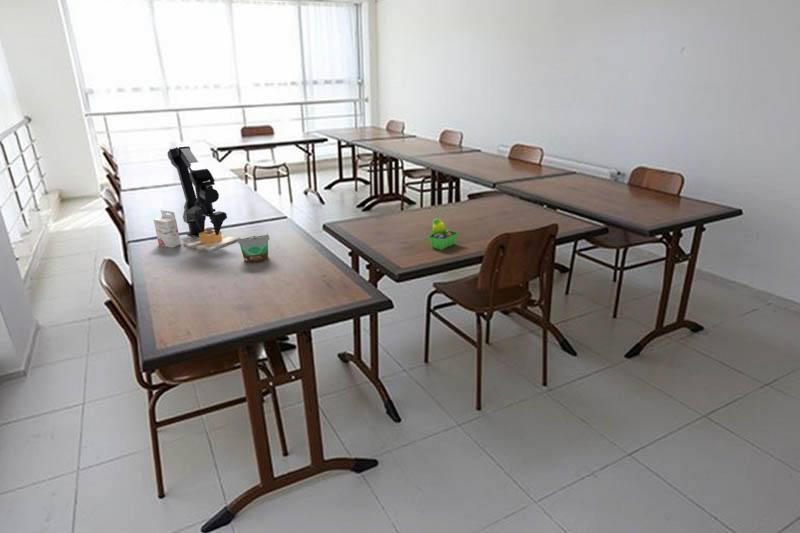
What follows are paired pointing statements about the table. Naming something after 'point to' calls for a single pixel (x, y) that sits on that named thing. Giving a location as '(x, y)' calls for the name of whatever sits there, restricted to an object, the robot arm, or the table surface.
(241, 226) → the table surface
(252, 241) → the food container
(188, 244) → the post board
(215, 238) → the orange square ring
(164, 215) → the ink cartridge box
